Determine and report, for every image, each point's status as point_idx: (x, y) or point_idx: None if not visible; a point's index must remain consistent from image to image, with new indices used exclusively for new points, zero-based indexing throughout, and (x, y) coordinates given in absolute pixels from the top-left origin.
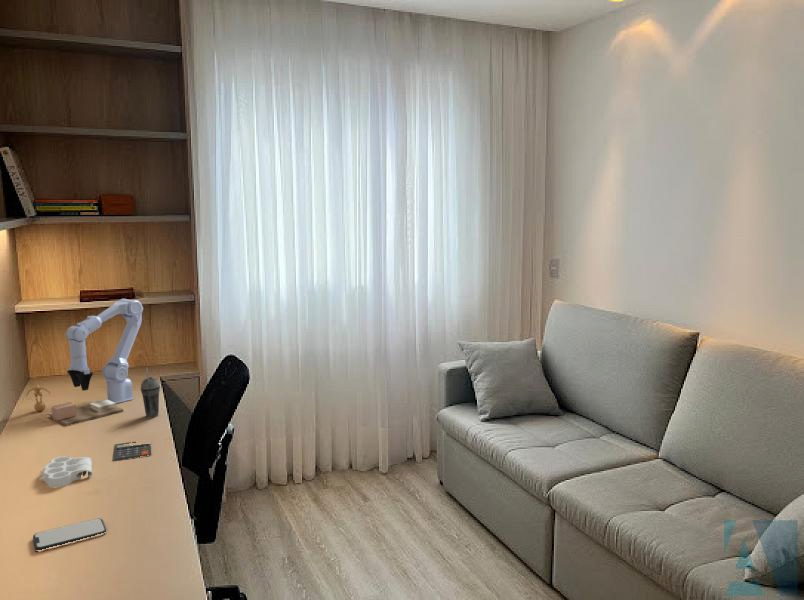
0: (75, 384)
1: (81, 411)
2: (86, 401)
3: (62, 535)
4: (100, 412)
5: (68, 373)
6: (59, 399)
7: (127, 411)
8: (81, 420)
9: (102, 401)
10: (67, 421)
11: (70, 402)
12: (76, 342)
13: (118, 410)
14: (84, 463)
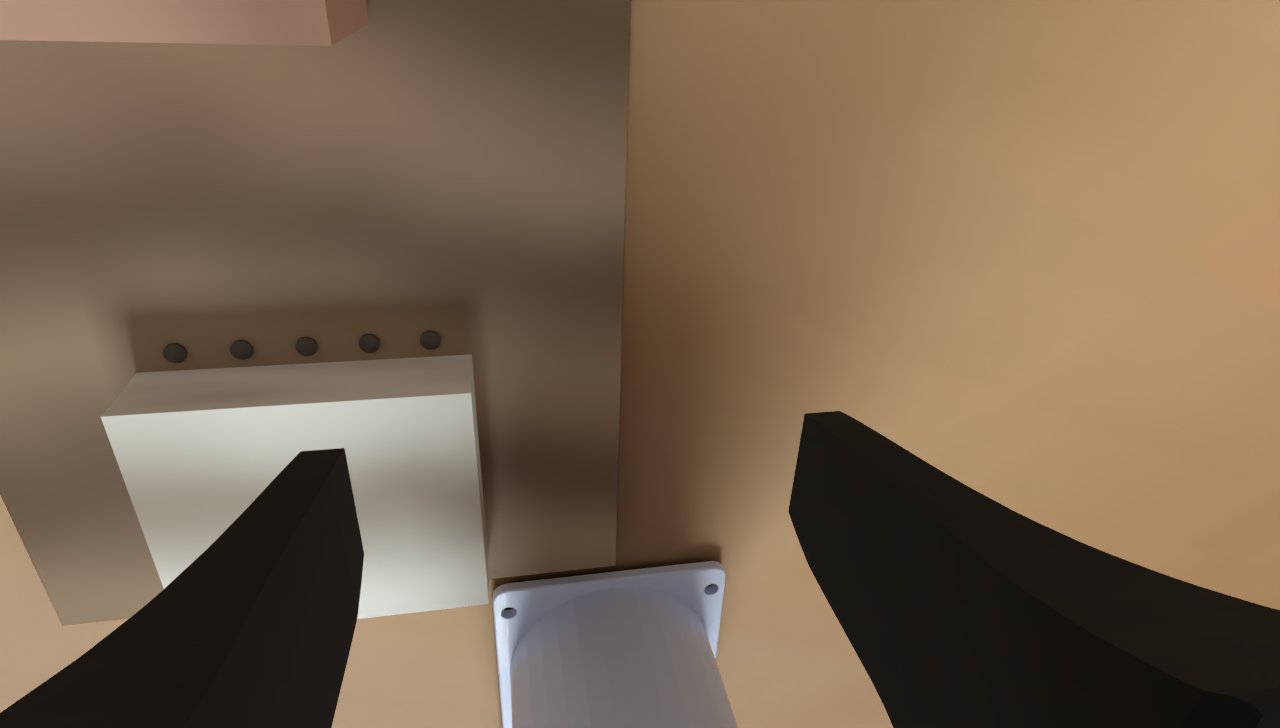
0: (828, 467)
1: (379, 199)
2: (889, 426)
3: None
4: (92, 382)
5: (1266, 613)
6: (1269, 235)
7: (51, 630)
8: None
9: (418, 540)
10: None
11: (285, 33)
12: None
13: (40, 573)
14: None
